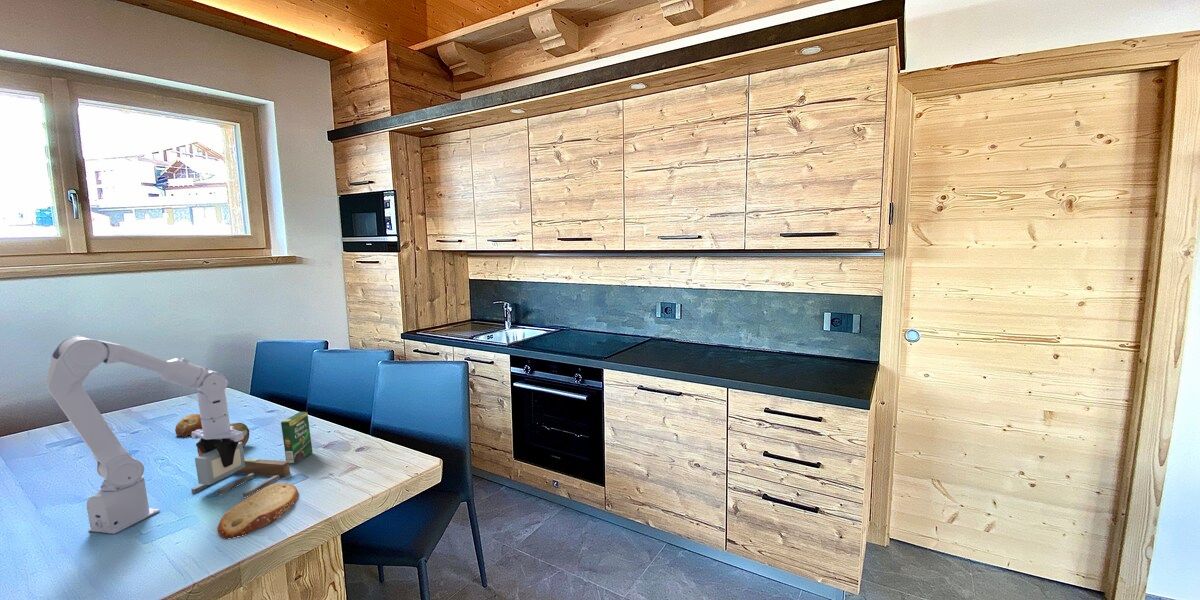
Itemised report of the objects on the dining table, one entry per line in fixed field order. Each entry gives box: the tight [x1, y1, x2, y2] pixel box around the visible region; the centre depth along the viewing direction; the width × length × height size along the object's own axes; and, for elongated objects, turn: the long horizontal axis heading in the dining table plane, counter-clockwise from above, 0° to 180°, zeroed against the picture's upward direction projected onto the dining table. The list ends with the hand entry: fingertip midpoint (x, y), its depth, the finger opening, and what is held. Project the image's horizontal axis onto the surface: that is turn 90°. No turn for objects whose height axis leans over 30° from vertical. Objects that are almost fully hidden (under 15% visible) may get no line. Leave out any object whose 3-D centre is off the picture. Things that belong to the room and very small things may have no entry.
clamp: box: [191, 457, 291, 498], centre depth 130 cm, size 13×18×4 cm
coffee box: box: [280, 411, 313, 465], centre depth 144 cm, size 8×3×13 cm, turn 175°
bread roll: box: [174, 413, 202, 437], centre depth 170 cm, size 10×10×8 cm
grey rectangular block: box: [194, 442, 245, 486], centre depth 129 cm, size 10×4×7 cm, turn 168°
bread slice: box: [216, 482, 299, 540], centre depth 116 cm, size 18×18×4 cm
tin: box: [196, 422, 250, 456], centre depth 150 cm, size 15×3×8 cm, turn 168°
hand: (221, 465), depth 129 cm, fingers closed on grey rectangular block, 4 cm apart
